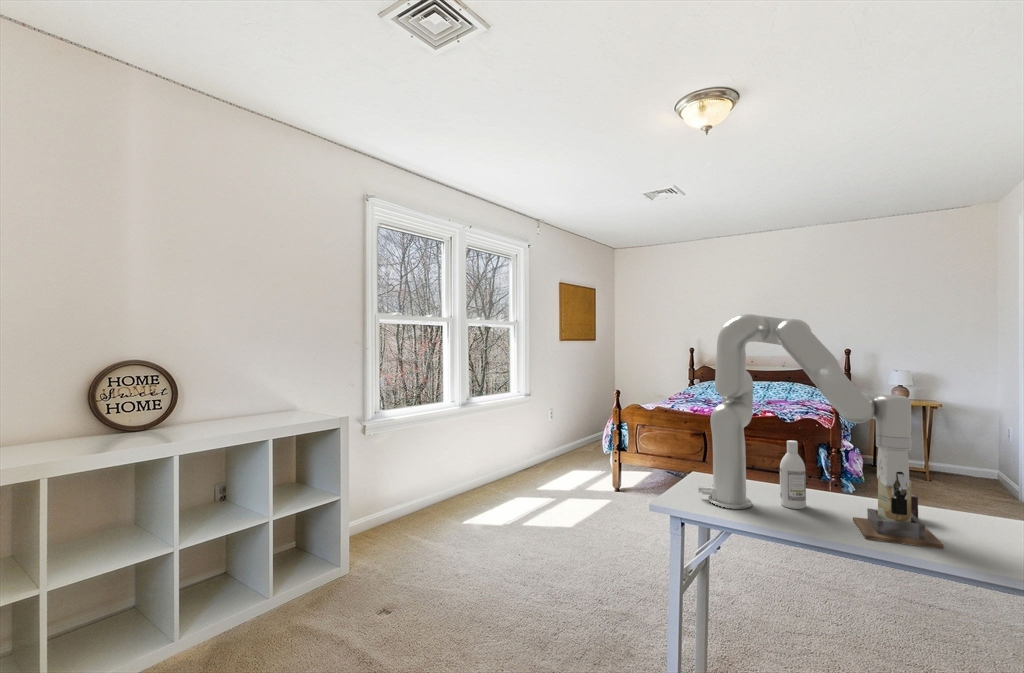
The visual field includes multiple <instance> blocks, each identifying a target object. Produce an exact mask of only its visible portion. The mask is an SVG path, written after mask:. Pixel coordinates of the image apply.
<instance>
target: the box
mask: <svg viewBox="0 0 1024 673" xmlns="http://www.w3.org/2000/svg"><path fill="white" fill-rule="evenodd" d="M911 513H912V514H913V515H914V516H915V517H916V518H917V519H918V520H919V496H917V495H915V494H913V493H911Z"/></svg>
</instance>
